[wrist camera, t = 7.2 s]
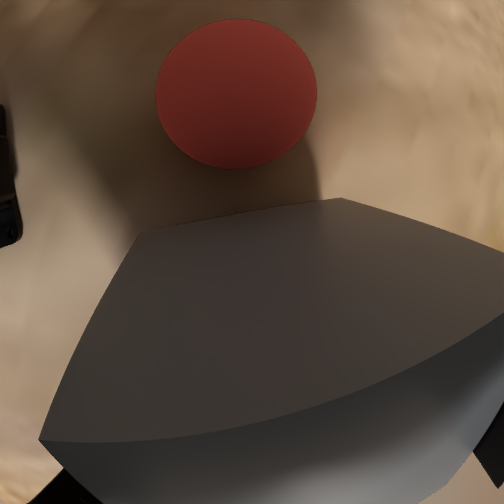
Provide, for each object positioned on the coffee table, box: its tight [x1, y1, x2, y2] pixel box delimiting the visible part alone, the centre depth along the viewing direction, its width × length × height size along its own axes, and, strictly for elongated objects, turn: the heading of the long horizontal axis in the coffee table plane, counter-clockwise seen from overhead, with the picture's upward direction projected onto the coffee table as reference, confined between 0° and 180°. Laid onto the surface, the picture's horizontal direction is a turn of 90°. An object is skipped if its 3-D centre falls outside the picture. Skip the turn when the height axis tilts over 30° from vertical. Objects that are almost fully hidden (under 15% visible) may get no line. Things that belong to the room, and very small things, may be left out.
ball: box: [155, 19, 317, 169], centre depth 8 cm, size 5×5×5 cm
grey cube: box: [38, 198, 504, 504], centre depth 8 cm, size 8×8×9 cm
